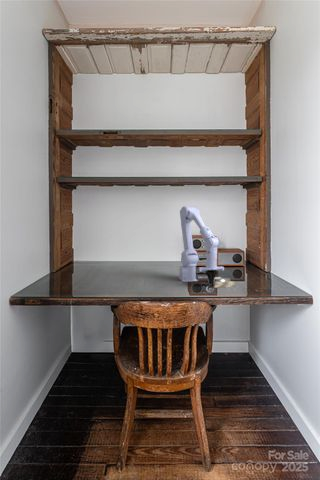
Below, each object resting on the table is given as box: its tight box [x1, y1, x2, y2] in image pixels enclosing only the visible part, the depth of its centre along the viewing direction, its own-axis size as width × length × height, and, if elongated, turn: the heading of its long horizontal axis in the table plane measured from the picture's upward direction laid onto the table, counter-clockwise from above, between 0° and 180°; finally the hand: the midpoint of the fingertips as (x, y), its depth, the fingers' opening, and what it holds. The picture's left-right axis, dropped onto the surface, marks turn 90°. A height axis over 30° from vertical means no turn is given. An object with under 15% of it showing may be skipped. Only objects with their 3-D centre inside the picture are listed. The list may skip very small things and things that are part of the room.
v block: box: [207, 276, 225, 283], centre depth 182 cm, size 8×5×2 cm, turn 106°
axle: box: [212, 277, 232, 286], centre depth 175 cm, size 9×4×4 cm, turn 106°
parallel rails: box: [208, 281, 236, 289], centre depth 175 cm, size 12×7×2 cm, turn 106°
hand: (210, 283), depth 173 cm, fingers closed
